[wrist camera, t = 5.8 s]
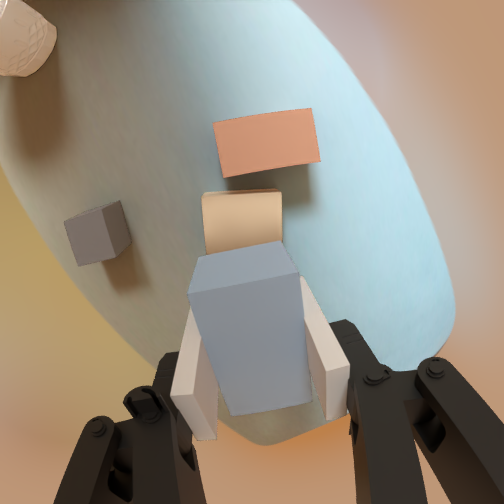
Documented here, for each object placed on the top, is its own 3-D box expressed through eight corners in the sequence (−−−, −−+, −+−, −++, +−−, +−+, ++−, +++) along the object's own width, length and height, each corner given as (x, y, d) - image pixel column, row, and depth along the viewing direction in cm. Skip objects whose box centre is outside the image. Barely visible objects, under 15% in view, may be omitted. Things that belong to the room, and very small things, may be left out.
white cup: (73, 34, 16) (18, 1, 7) (26, 94, 18) (-39, 86, 8) (45, 10, 14) (-4, -18, 5) (3, 65, 15) (-53, 53, 6)
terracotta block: (225, 174, 23) (223, 178, 19) (215, 128, 21) (212, 122, 18) (306, 160, 23) (320, 161, 19) (298, 115, 21) (311, 108, 18)
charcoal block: (85, 211, 23) (63, 221, 19) (120, 200, 23) (101, 209, 19) (97, 250, 24) (78, 266, 20) (132, 242, 24) (116, 257, 20)
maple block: (205, 191, 23) (201, 197, 20) (275, 187, 24) (281, 192, 21) (214, 287, 26) (212, 303, 23) (277, 283, 27) (282, 298, 24)
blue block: (198, 256, 13) (186, 293, 10) (280, 240, 13) (299, 271, 10) (230, 365, 16) (231, 416, 12) (297, 352, 16) (312, 401, 12)
